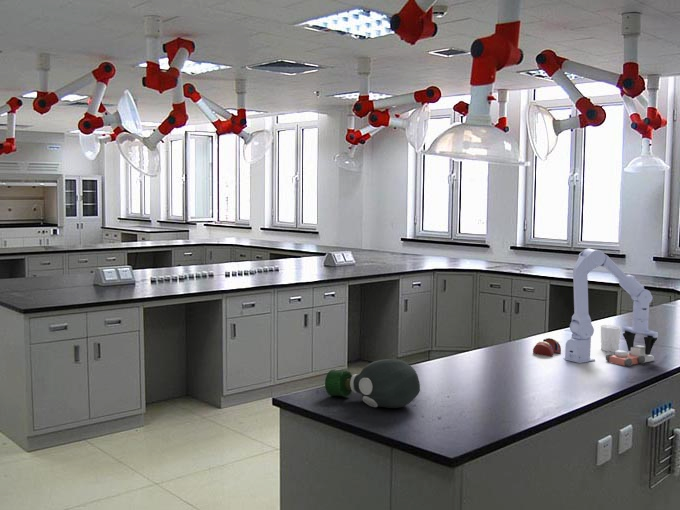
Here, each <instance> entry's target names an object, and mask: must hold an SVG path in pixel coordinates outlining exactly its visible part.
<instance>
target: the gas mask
mask: <svg viewBox="0 0 680 510" xmlns="http://www.w3.org/2000/svg"><path fill="white" fill-rule="evenodd" d="M420 385H421V384H420V380H419V375H418V374H417V371H416V370H415V368H413V366H412V365H410V364H409V363H407V362H406V361H404V360H402V359H396V358H386V359H378V360H374V361H372V362H370V363H369V364H367V365H366V366H365V367H364V368H362V370H361V372H360V373H358V374H357V373H356V374H352V373H351V372H350V371H349V370H338V369H337V370H336V369H331V370H329V371H328V372H327V374H326V376H325V379H324V387H325V391H326V393H327V394H328V395H329V396H331V397H334V396H338V397H347V396H350V395H351V394H352V392H353V393H355V394H360V395H361V397H362V401H363V403H365V404H366V405H368V406H369V407H373V408H378V407H381V408H390V409H397V408H398V409H399V408H403V407H405V406H407V405H409V404H411V403H412V401H414V400H415V398H417V396H418V395H419V393H420V392H421V386H420Z"/></svg>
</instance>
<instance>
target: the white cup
mask: <svg viewBox="0 0 680 510" xmlns="http://www.w3.org/2000/svg"><path fill="white" fill-rule="evenodd" d="M621 328H622V327H621V326H619V325H614V324H613V325H612V324H603V325H600V343H601V344H600V347H601V350H602V351H604V352H609V351H611V352H612V353H613V351H614V353H616V352H615V351H617V350H620V349H619V348H620V342H621V341H620V339H621V330H622V329H621Z"/></svg>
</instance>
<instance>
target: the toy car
mask: <svg viewBox="0 0 680 510" xmlns="http://www.w3.org/2000/svg"><path fill="white" fill-rule="evenodd" d="M605 360H606V362H609V363H612V364H614V365H615V364H616V365H619V366H624V367H630V366H632V365H636V364H641V365H643V364H644V363H649V362H654V361H655V356H654V355H653V354H649V355H647V356H636V355H631V354H630V352H629V351H628V350H627V351H626V350H620V349H619V350H617V351H616V352H614V355H613V354H612V353H606V355H605Z"/></svg>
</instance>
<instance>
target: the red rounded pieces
mask: <svg viewBox="0 0 680 510" xmlns="http://www.w3.org/2000/svg"><path fill="white" fill-rule="evenodd" d="M561 351H562V347H561V344H560V343H559V341H557V340H556V339H554V338H552V337H551V338H550V337H548V338H547V337H545V338H544V339H543V341H538V342H537V343H536V344H535V345H534V346H533V349H532V354H534V355H538V356H546V357H553V356H554V354H562V352H561Z"/></svg>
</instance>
